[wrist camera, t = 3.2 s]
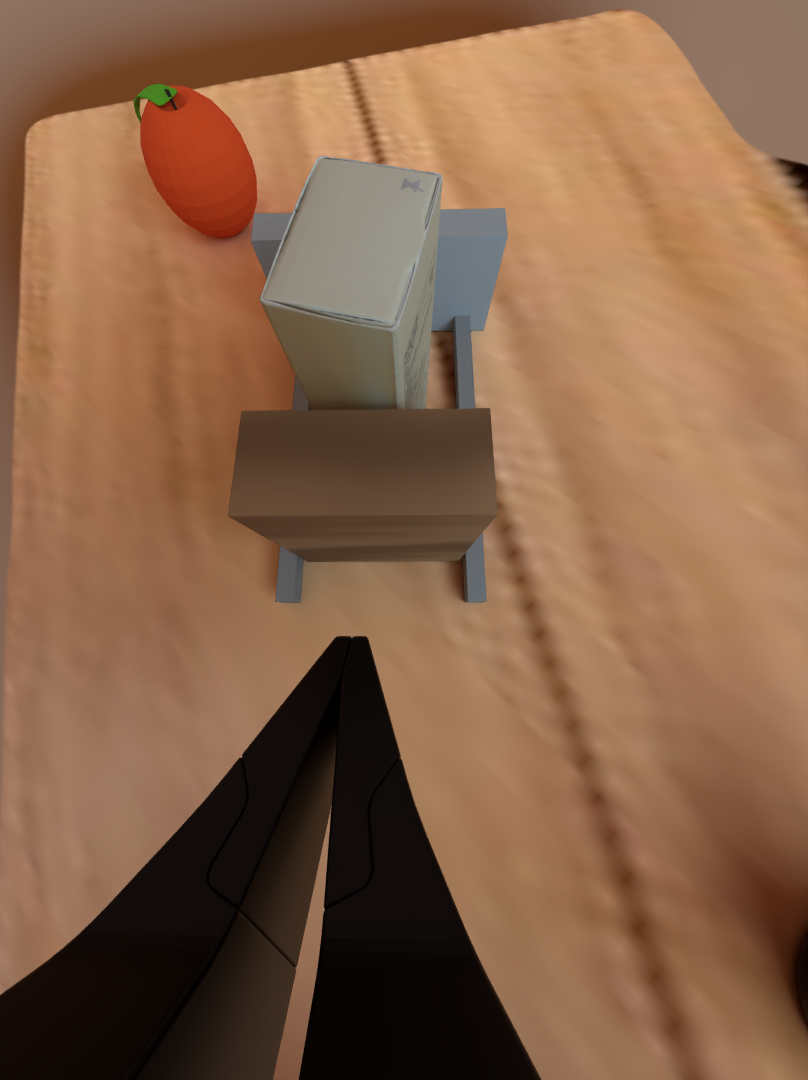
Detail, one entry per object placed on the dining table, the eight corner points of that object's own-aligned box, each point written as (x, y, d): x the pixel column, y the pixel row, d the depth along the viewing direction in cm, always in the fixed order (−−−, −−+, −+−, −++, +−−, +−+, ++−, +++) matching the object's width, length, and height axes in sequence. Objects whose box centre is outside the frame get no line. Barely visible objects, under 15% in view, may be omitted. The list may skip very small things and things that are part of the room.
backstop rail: (502, 602, 19) (543, 594, 13) (263, 602, 19) (199, 595, 14) (481, 307, 24) (505, 208, 18) (291, 310, 24) (254, 213, 19)
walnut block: (458, 561, 20) (497, 514, 11) (308, 561, 20) (227, 516, 11) (456, 498, 21) (489, 408, 12) (312, 498, 21) (241, 411, 12)
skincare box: (365, 392, 23) (317, 142, 11) (427, 406, 22) (448, 162, 10) (338, 477, 21) (248, 295, 9) (404, 492, 21) (397, 324, 9)
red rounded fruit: (158, 236, 26) (69, 100, 19) (210, 181, 28) (144, 35, 21) (238, 273, 25) (174, 143, 18) (289, 214, 27) (247, 72, 20)
